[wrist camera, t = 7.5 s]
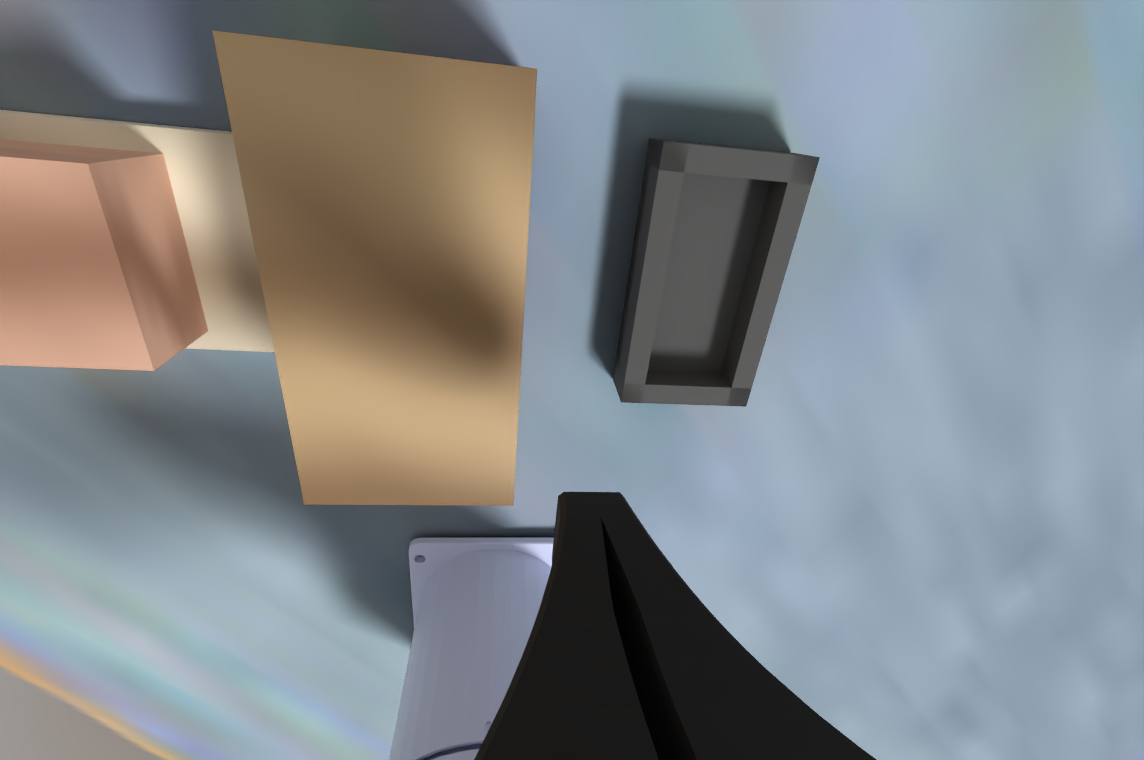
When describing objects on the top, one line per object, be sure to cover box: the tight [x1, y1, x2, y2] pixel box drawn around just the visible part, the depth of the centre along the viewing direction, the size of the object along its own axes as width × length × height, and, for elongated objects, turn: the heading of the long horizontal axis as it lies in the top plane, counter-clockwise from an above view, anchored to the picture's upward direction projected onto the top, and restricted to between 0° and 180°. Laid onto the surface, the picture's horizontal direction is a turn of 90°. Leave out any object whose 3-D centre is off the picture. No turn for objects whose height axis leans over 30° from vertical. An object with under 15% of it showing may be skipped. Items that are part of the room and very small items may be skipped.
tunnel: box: [212, 30, 537, 506], centre depth 15 cm, size 11×6×6 cm, turn 175°
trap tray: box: [613, 138, 820, 406], centre depth 18 cm, size 9×5×2 cm, turn 175°
